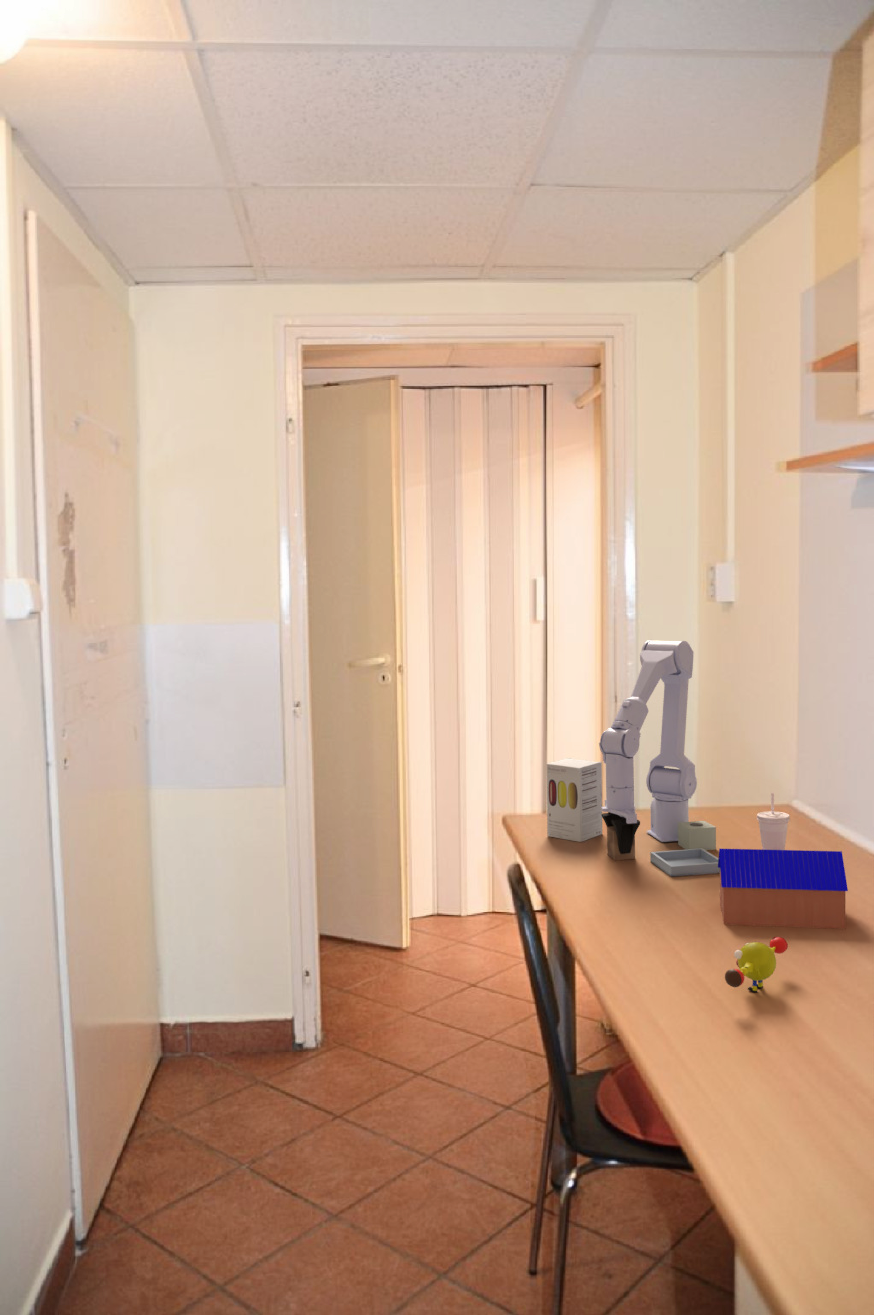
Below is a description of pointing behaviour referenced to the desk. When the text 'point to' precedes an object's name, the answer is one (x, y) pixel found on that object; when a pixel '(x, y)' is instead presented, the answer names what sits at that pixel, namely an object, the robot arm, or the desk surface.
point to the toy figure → (755, 963)
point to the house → (782, 888)
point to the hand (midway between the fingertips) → (621, 850)
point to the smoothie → (773, 828)
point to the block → (613, 846)
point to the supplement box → (574, 799)
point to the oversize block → (697, 835)
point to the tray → (685, 862)
